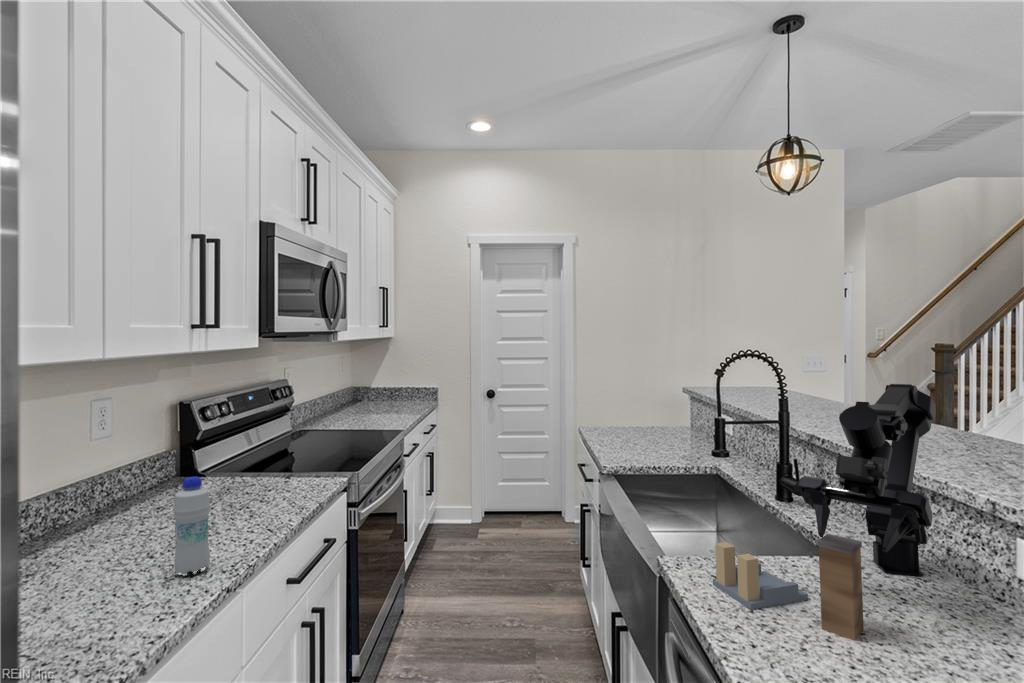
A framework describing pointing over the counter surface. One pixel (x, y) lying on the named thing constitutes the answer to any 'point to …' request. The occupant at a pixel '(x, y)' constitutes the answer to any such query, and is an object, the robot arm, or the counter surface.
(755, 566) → the base with wooden posts
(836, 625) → the rail end
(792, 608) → the counter surface
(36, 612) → the counter surface
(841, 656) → the counter surface
